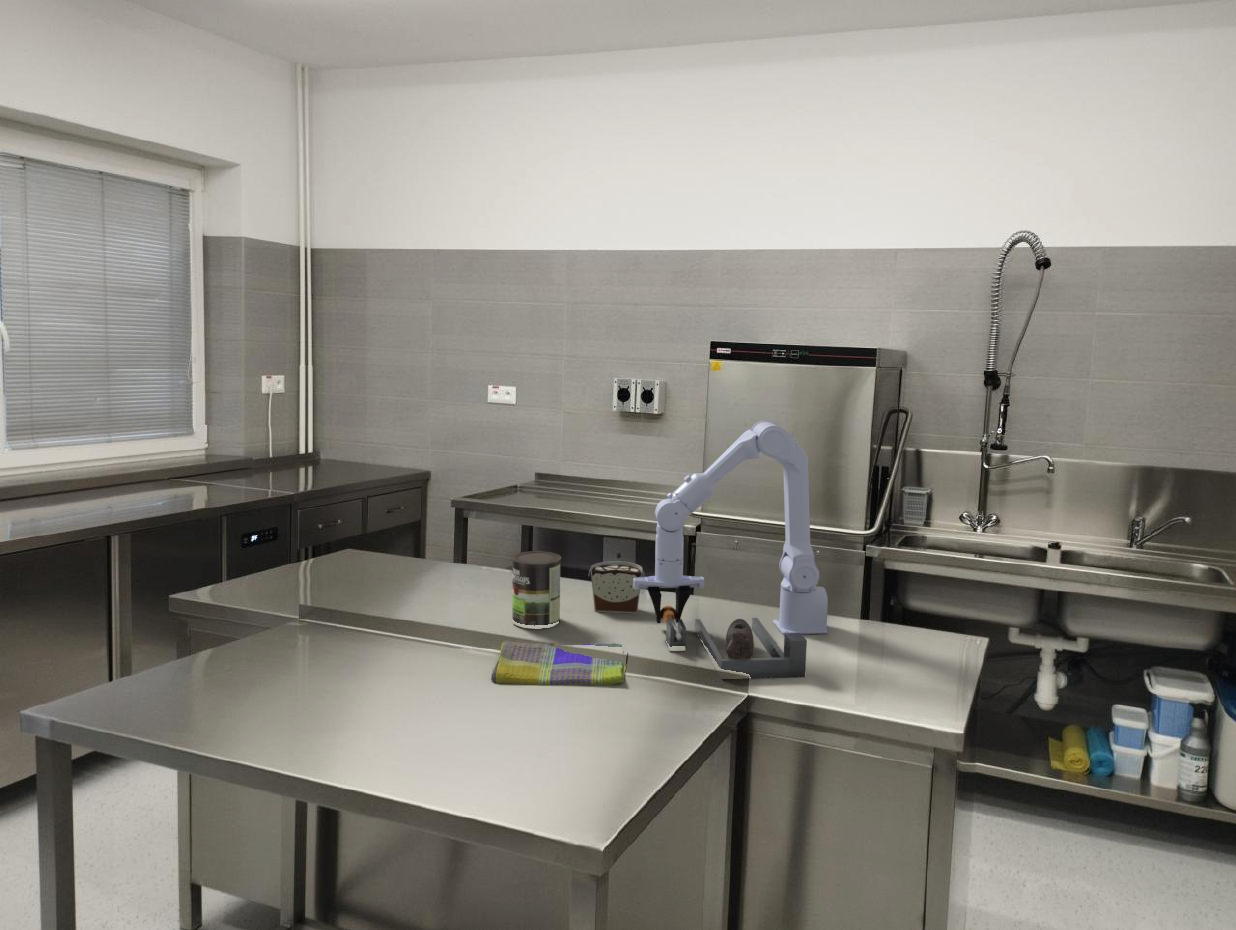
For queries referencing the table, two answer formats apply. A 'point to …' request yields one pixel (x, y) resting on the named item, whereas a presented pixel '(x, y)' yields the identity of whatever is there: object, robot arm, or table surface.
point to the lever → (670, 614)
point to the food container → (615, 586)
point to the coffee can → (536, 588)
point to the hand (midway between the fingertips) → (667, 621)
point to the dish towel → (554, 666)
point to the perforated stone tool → (739, 640)
